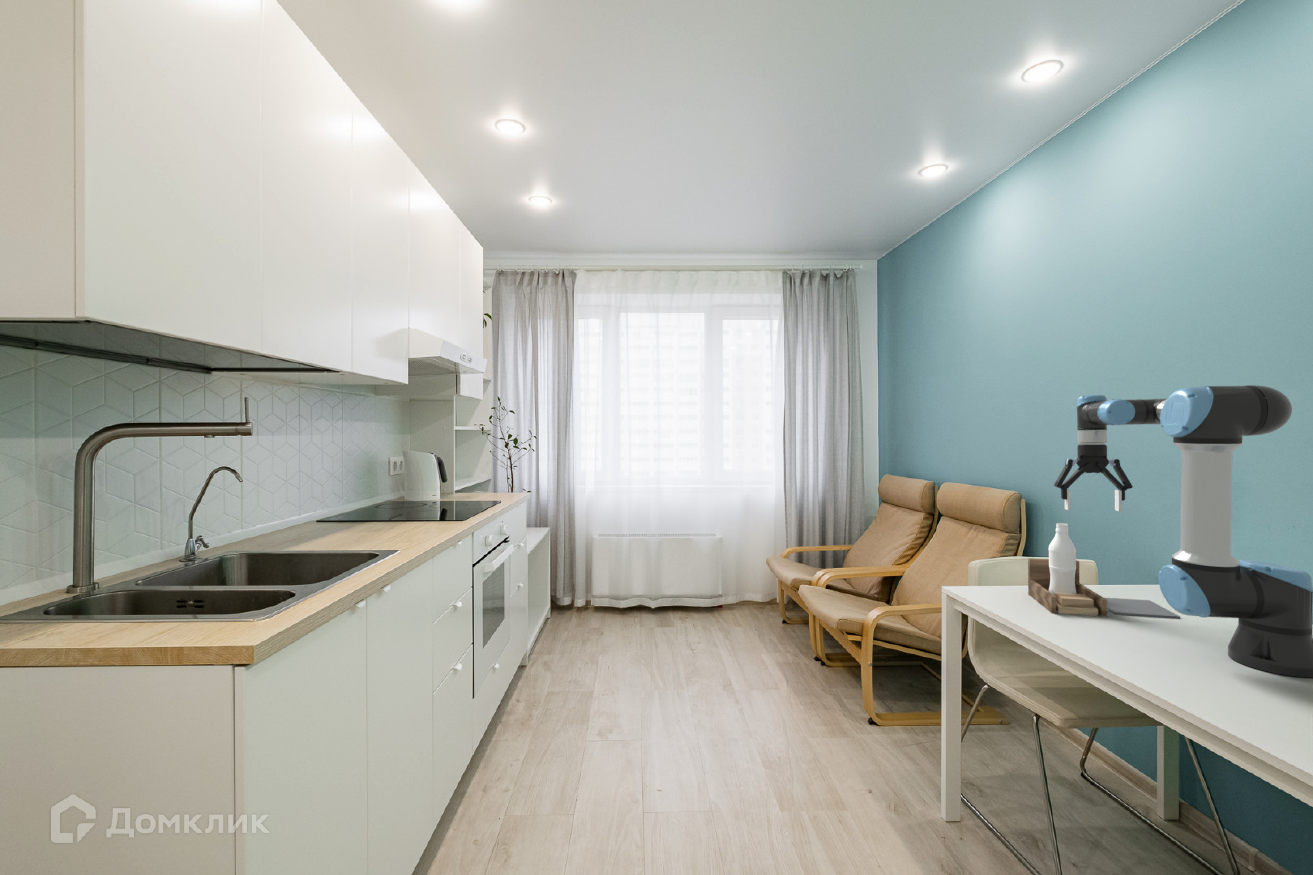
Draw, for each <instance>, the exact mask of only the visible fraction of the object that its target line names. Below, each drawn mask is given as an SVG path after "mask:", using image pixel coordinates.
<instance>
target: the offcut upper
mask: <svg viewBox="0 0 1313 875" xmlns="http://www.w3.org/2000/svg"><path fill="white" fill-rule="evenodd" d="M1054 596H1056V602H1057V603H1058V604H1059V605H1061V606H1063V607H1077V608H1092V609H1093V600H1092V599H1091V598H1089V597H1088V596H1086V595H1085V594H1070V593H1054Z"/></svg>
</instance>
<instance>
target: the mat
mask: <svg viewBox="0 0 1313 875" xmlns="http://www.w3.org/2000/svg"><path fill="white" fill-rule="evenodd" d="M1104 598H1105V599H1107V609H1108V610H1109V612H1110V613H1111V612H1112V613H1111V614H1113V613H1114V614H1113V615H1117V614H1121V616H1131V617H1132V616H1134V617H1135V616H1136V617H1149V618H1150V617H1151V618H1163V619H1165V618H1166V619H1167V618H1168V619H1177V620H1179V619H1181V616H1180V615H1178V614H1176V613H1175V612H1172V611H1170V610H1169V609H1167V608H1166V607H1163V606H1161V605H1159V604H1158V603H1155V602H1154V601H1152V600H1150V599H1134V598H1133V599H1132V598H1118V597H1117V598H1115V597H1104ZM1108 610H1107V611H1108Z"/></svg>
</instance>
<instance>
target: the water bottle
mask: <svg viewBox="0 0 1313 875" xmlns="http://www.w3.org/2000/svg"><path fill="white" fill-rule="evenodd" d="M1055 524H1056V525H1055V527H1056V528H1055V530H1054V531H1055V535H1054V537H1053V539H1051V542H1050V543H1049V545H1048V559H1049V569H1050V586H1049V592H1050V593H1052V594H1053V595H1054V593H1070V594H1077V593H1076V588H1075V571H1076V560H1077V556H1076V555H1077V548H1076V546H1075V545H1074V543H1073V541H1072V540H1071V538H1070V536H1069V532H1070V530H1069V524H1068V523H1063V522H1057V523H1055Z"/></svg>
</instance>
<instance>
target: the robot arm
mask: <svg viewBox="0 0 1313 875" xmlns="http://www.w3.org/2000/svg"><path fill="white" fill-rule="evenodd" d="M1292 412H1293V408H1292V403H1291V401H1290V399H1289V398H1288V397H1287V395H1285V394H1284V393H1283V392H1281V391H1279V390H1278V389H1275V388H1273V387H1269V386H1265V385H1256V384H1254V385H1253V384H1252V385H1220V386H1219V385H1217V386H1216V385H1215V386H1214V385H1210V386H1209V385H1206V386H1204V385H1200V386H1192V387H1184V388H1179V389H1177V390H1176V391H1174V392H1172V393H1171V394H1170V395H1169V396H1168V398H1150V399H1148V398H1147V399H1145V398H1144V399H1139V398H1138V399H1121V398H1117V399H1114V398H1113V399H1107V397H1106V395H1104V394H1103V395H1102V394H1096V395H1093V394H1092V395H1082V396H1079V397H1078V398H1077V404H1076V423H1077V426H1076V427H1077V431H1076V432H1077V443H1079V444H1078V445H1077V448H1076V449H1077V458H1076V459H1071V458H1066V459H1065V462H1064V464H1065V465H1064V467H1063V468H1062V470H1061V471H1060V473H1059V475H1058V477H1057V478H1056V481H1055V482H1054V484H1053V486H1054V487H1055V488H1059V489H1060V495H1061V496H1060V498H1061V500H1064V509H1065V510H1067V511H1071V489H1069V488H1070V487H1071V486H1072V485H1073V484H1074V483H1075V482H1076V481H1077V480H1078V479H1079V478H1080V477H1081V476H1082V475H1083V474H1092V473H1093V474H1102V475H1103V476H1105V478H1106V479H1107V480H1108V481H1109V482H1110V483H1111V484H1112V485H1113V486H1115V487H1116V488H1117V489H1114V511H1116V512H1122V511H1123V510H1122V509H1123V507H1122V506H1123V505H1122V503H1123V501H1125V500H1126V491H1127V490H1129V489H1133V487H1134V486H1133V485H1132V483H1131V481H1130V480H1129V477H1128V476H1127V474H1126V473H1125V471H1124V470H1123V468H1122V466H1121V462H1120V459H1118V458H1112V459H1108V446H1107V444H1106V443H1107V442H1108V426H1124V425H1125V426H1126V425H1127V426H1130V425H1160V427H1162V431H1163V432H1164V433H1165V434H1166V435H1167V436H1170V437H1172V440H1173V442H1172V444H1173V445H1174V446H1175V447H1177V448H1178V449H1179V450H1180V451H1181V462H1180V463H1181V465H1180V466H1181V472H1180V473H1181V474H1180V475H1181V476H1180V477H1181V478H1180V479H1181V480H1180V481H1181V482H1180V491H1181V492H1180V548H1179V550H1178V551H1176V552H1175V553H1173V554H1171V564H1167V565H1163V566H1162V567H1161V568H1160V570H1159V571H1158V576H1157V577H1158V585H1159V590H1160V591H1161V594H1162V597H1163V598H1164V599H1165V601H1166V602H1167V604H1168V605H1169V606H1170V607H1171V608H1172V609H1173V610H1174V611H1176V612H1178V614H1181V615H1185V616H1190V617H1191V616H1193V617H1199V618H1225V619H1227V618H1229V619H1238V622H1237V623H1238V624H1237V627H1236V629H1235V630H1234V633H1233V635H1232V637H1231V639H1230V641H1229V643H1228V645H1227V655H1228V657H1229V658H1230V659H1231V660H1233V661H1235V662H1237V663H1239V664H1241V665H1244V666H1247V667H1250V668H1254V669H1256V670H1259V671H1264V672H1268V673H1273V674H1277V675H1284V676H1290V677H1297V678H1313V581H1312V580H1313V579H1312V576H1311V575H1310V574H1309V573H1308V572H1306V571H1303V570H1301V569H1297V568H1295V567H1291V566H1286V565H1283V564H1282V565H1281V564H1276V563H1270V562H1264V561H1259V560H1250V559H1239V560H1237V559H1236V558H1235V557H1234V556H1233V555H1232V518H1233V517H1232V513H1233V512H1232V508H1233V507H1232V504H1233V500H1232V499H1233V452H1234V451H1236V449H1238V448H1240V447H1241V446H1243V437H1245V436H1246V437H1250V436H1253V437H1254V436H1261V435H1266V434H1269V433H1273V432H1275V431H1277V430H1278V429H1280V428H1282V427H1284V426H1285V425H1286V424H1287V423H1288V421H1289V420H1290V418H1291V416H1292ZM1075 465H1077V466H1078V467H1077V469H1076V470H1074V472H1073V473H1072V474H1071V475H1070V476H1069V477H1068V475H1069V474H1070V471H1071V470H1072V468H1073V467H1074V466H1075ZM1108 465H1110V466H1111V467H1112V468H1113V470H1114V472H1115V473H1116V475H1117V476H1118V479H1119V480H1120V481H1119V480H1118V479H1117V478H1116V477H1115V475H1113V474H1112V473H1111V472H1110V470H1109V469H1108V468H1107V466H1108ZM1067 477H1068V478H1067ZM1065 480H1066V481H1065Z"/></svg>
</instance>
